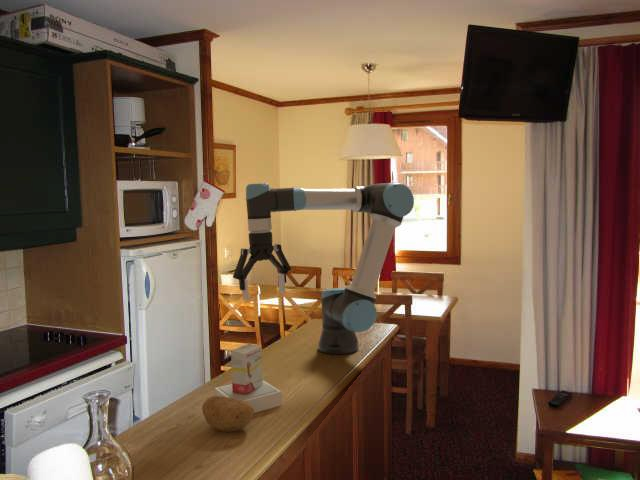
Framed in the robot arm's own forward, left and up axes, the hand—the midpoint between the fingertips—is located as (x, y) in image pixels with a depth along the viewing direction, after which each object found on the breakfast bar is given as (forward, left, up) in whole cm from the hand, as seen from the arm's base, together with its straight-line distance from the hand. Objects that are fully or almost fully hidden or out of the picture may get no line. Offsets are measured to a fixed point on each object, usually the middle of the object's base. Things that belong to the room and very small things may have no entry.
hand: (264, 296), depth 172 cm
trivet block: (+16, +19, -26) cm, 36 cm away
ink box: (+16, +18, -22) cm, 33 cm away
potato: (+27, +31, -26) cm, 48 cm away
